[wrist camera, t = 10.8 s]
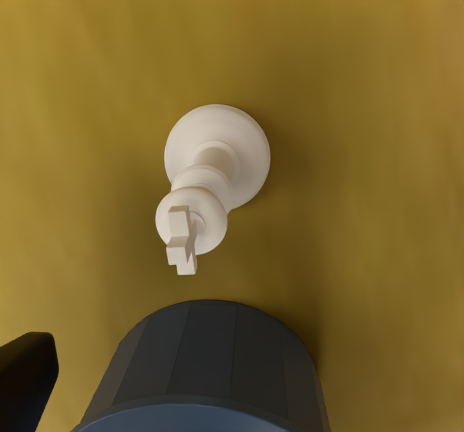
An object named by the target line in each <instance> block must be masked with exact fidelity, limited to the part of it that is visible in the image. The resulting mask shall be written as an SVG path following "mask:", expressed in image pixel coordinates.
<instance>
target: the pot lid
mask: <svg viewBox="0 0 464 432" xmlns="http://www.w3.org/2000/svg"><path fill="white" fill-rule="evenodd" d="M70 432H306V431H305V430H303V429H302V428H300V427H298V426H297V425H295V424H293V423H292V422H290V421H288V420H287V419H285V418H283V417H280V416H278V415H276V414H274V413H272V412H269V411H267V410H265V409H262V408H259V407H256V406H253V405H250V404H247V403H244V402H240V401H235V400H231V399H226V398H222V397H215V396H206V395H198V394H168V395H157V396H148V397H143V398H139V399H134V400H129V401H126V402H123V403H120V404H117V405H114V406H111V407H108V408H106V409H104V410H102V411H100V412H98V413H96V414H94V415H92V416H90V417H89V418H87V419H86V420H84V421H83V422H81V423H80V424H78V425H77V426H76V427H75V428H74V429H73V430H71V431H70Z"/></svg>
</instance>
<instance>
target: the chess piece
mask: <svg viewBox="0 0 464 432" xmlns="http://www.w3.org/2000/svg"><path fill="white" fill-rule="evenodd" d="M270 160H271V156H270V147H269V143H268V140H267V138H266V135H265V133H264V132H263V130H262V128H261V127H260V126H259V124H258V123H257V122H256V121H255V120H254V119H253V118H252V117H251V116H249V115H248V114H247V113H245V112H244V111H242V110H240V109H238V108H235V107H232V106H228V105H222V104H211V105H205V106H201V107H198V108H196V109H193V110H192V111H190V112H188V113H187V114H185V115H184V116H183V117H182V118H181V119H180V120H179V121H178V122H177V123H176V124H175V126H174V127H173V129H172V130H171V132H170V134H169V137H168V140H167V143H166V146H165V152H164V163H165V169H166V173H167V176H168V178H169V181H170V183H171V184H172V187H171V192H170V193H169V194H167V195H166V196H165V197H164V198H163V199H162V201H161V202H160V204H159V206H158V208H157V211H156V227H157V230H158V233H159V235H160V237H161V238H162V240H163V241H164V242H165V243H166V244H167V247H166V251H167V257H168V262H169V265H176V266H177V272H178V275H188V274H195V272H196V269H197V259H196V255H199V254H204V253H206V252H209V251H211V250H212V249H214V248H215V247H217V246H218V245H219V244H220V242H221V241H222V240H223V238H224V236H225V233H226V230H227V214H228V213H229V212H230V210H231V209H234V208H237V207H240V206H242V205H244V204H245V203H247V202H248V201H250V200H251V199H252V198H253V197H254V196H255V195H256V194H257V193H258V192H259V190H260V189H261V187H262V186H263V184H264V182H265V180H266V178H267V175H268V172H269V168H270Z"/></svg>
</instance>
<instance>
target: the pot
mask: <svg viewBox="0 0 464 432" xmlns="http://www.w3.org/2000/svg"><path fill="white" fill-rule="evenodd" d="M168 394H198V395H206V396H215V397H222V398H226V399H231V400H235V401H240V402H244V403H247V404H250V405H253V406H256V407H259V408H262V409H265V410H267V411H269V412H272V413H274V414H276V415H278V416H280V417H283V418H285V419H287V420H288V421H290V422H292V423H293V424H295V425H297V426H298V427H300V428H302V429H303V430H305V431H306V432H331V431H330V426H329V421H328V416H327V411H326V406H325V402H324V397H323V392H322V387H321V384H320V381H319V378H318V376H317V372H316V369H315V365H314V362H313V360H312V358H311V356H310V354H309V352H308V351H307V349H306V348H305V346H304V345H303V343H302V342H301V341H300V340H299V338H298V337H297V336H296V335H295V334H294V333H293V332H292V331H291V330H290V329H288V328H287V327H286V326H285V325H284V324H282V323H281V322H279V321H278V320H276V319H275V318H273V317H272V316H270V315H268V314H266V313H264V312H262V311H259V310H257V309H254V308H251V307H249V306H246V305H242V304H238V303H233V302H228V301H219V300H197V301H189V302H183V303H179V304H175V305H171V306H169V307H166V308H163V309H161V310H159V311H157V312H155V313H153V314H151V315H149V316H148V317H146V318H145V319H143V320H142V321H141V322H139V323H138V324H137V325H136V326H135V327H134V328H133V329H132V330H131V331H130V332H129V333H128V334H127V336H126V337H125V338H124V339H123V340H122V341H121V342H120V344H119V346H118V348H117V350H116V352H115V354H114V356H113V358H112V360H111V362H110V364H109V366H108V368H107V370H106V372H105V374H104V376H103V378H102V380H101V382H100V384H99V386H98V388H97V390H96V392H95V394H94V396H93V398H92V400H91V402H90V404H89V406H88V408H87V410H86V412H85V414H84V416H83V418H82V420H81V422H83V421H84V420H86V419H87V418H89V417H90V416H92V415H94V414H96V413H98V412H100V411H102V410H104V409H106V408H108V407H111V406H114V405H117V404H120V403H123V402H126V401H129V400H134V399H139V398H143V397H148V396H157V395H168ZM81 422H80V423H81Z"/></svg>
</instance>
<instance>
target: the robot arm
mask: <svg viewBox="0 0 464 432" xmlns="http://www.w3.org/2000/svg"><path fill="white" fill-rule="evenodd" d="M58 372H59V365H58V359H57V353H56V347H55V341H54V337H53V336H52V334H50V333H48V332H28V333H26V334H24V335H22V336H20V337H19V338H17V339H15V340H13V341H11V342H9V343H7V344H5V345H3V346H1V347H0V432H35V431H36V428H37V426H38V424H39V421H40V419H41V416H42V414H43V412H44V409H45V407H46V404H47V402H48V400H49V397H50V395H51V392H52V390H53V388H54V385H55V383H56V380H57V377H58Z"/></svg>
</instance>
